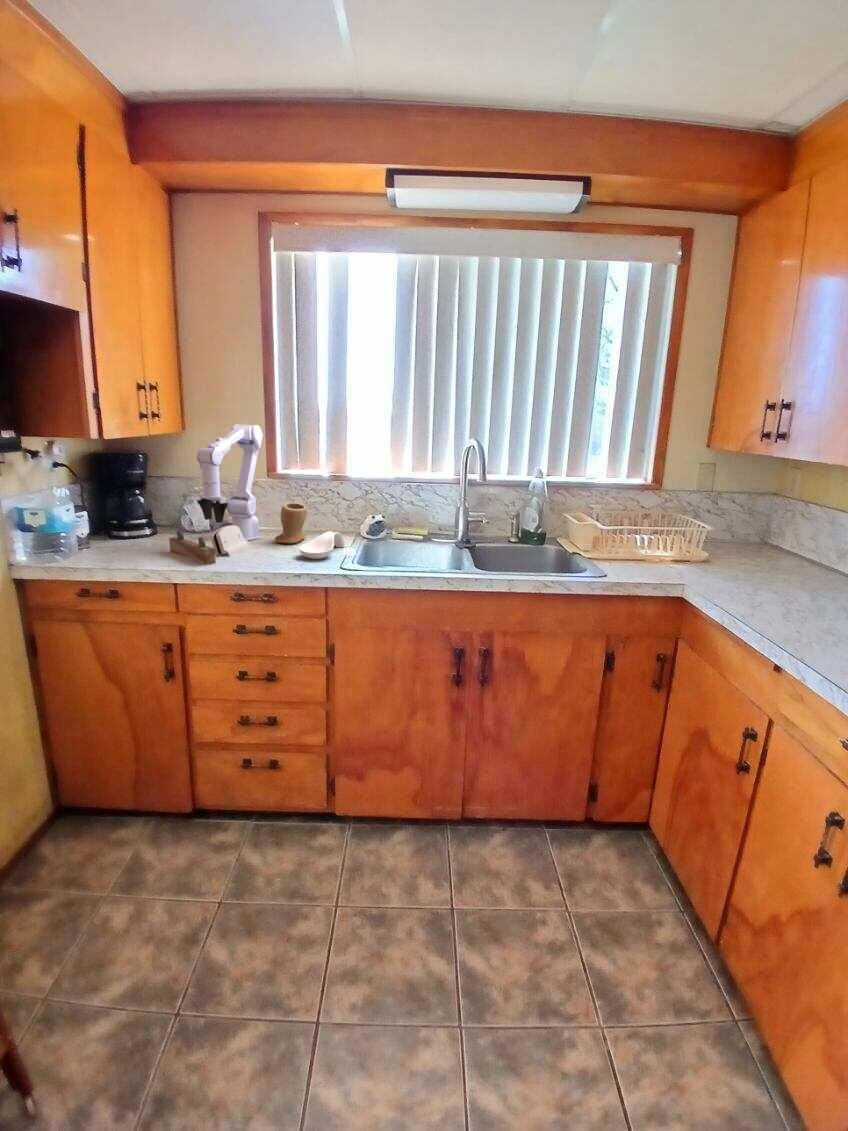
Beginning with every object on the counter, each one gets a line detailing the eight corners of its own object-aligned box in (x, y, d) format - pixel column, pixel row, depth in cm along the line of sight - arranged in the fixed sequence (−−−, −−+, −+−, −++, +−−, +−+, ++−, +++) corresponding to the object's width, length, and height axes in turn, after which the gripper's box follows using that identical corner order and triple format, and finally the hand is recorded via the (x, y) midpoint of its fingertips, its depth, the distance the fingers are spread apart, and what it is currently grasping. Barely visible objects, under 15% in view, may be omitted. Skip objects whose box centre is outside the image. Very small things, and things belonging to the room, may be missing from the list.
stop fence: (178, 550, 199) (176, 528, 197) (215, 563, 185) (214, 539, 183) (170, 551, 197) (168, 529, 195) (207, 564, 182) (205, 540, 180)
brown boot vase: (300, 546, 212) (299, 507, 208) (270, 544, 214) (269, 505, 210) (315, 538, 226) (314, 501, 222) (287, 536, 228) (286, 499, 224)
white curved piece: (229, 556, 193) (218, 529, 191) (217, 560, 194) (206, 533, 192) (250, 546, 209) (241, 520, 207) (239, 549, 210) (229, 524, 208)
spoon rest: (323, 563, 190) (323, 542, 188) (292, 559, 193) (292, 539, 192) (352, 548, 212) (353, 530, 210) (324, 545, 215) (324, 527, 213)
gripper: (189, 481, 199) (192, 519, 203) (211, 485, 190) (214, 525, 194) (208, 480, 205) (210, 516, 208) (230, 484, 196) (232, 522, 199)
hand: (213, 520), depth 201 cm, fingers open, 7 cm apart
